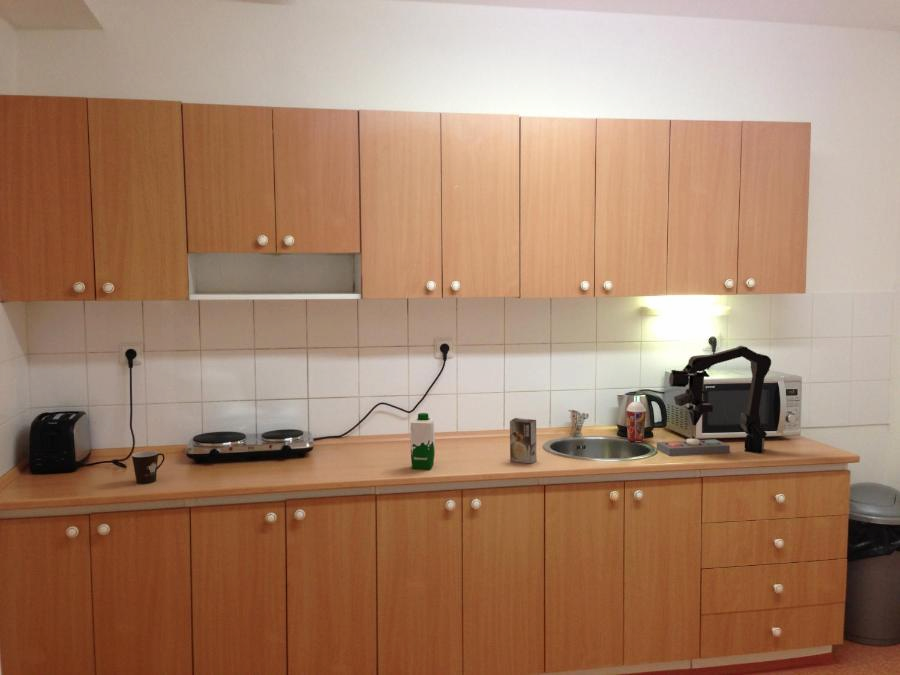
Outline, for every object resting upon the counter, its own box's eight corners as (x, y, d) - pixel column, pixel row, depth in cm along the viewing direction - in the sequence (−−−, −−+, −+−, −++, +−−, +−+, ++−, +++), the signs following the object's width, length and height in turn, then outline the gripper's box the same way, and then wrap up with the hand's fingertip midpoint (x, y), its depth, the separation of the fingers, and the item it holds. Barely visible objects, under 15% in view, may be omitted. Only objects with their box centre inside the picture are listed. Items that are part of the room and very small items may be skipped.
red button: (683, 450, 284) (683, 444, 284) (671, 450, 283) (671, 445, 283) (677, 447, 289) (677, 442, 289) (665, 447, 288) (665, 442, 288)
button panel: (729, 452, 284) (729, 445, 284) (669, 455, 280) (669, 448, 280) (715, 446, 295) (715, 439, 295) (656, 449, 291) (656, 442, 291)
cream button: (701, 446, 285) (701, 441, 285) (690, 446, 285) (690, 441, 284) (695, 443, 290) (695, 438, 290) (684, 444, 290) (684, 438, 289)
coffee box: (537, 460, 276) (537, 419, 274) (531, 463, 270) (531, 422, 269) (515, 457, 280) (515, 417, 279) (509, 461, 274) (509, 420, 273)
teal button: (719, 448, 287) (720, 443, 287) (708, 449, 286) (708, 443, 286) (713, 445, 292) (713, 440, 292) (702, 446, 291) (702, 440, 291)
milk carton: (436, 464, 270) (435, 413, 269) (432, 470, 261) (431, 417, 260) (413, 463, 272) (413, 412, 270) (409, 470, 263) (408, 417, 261)
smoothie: (646, 443, 301) (647, 397, 300) (626, 442, 303) (627, 396, 301) (644, 438, 310) (645, 393, 308) (624, 438, 311) (625, 393, 309)
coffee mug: (136, 486, 245) (134, 458, 244) (130, 480, 252) (129, 453, 251) (171, 480, 252) (169, 453, 251) (164, 475, 259) (163, 448, 258)
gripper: (666, 383, 294) (665, 420, 295) (688, 391, 275) (686, 430, 277) (691, 383, 295) (690, 420, 297) (715, 391, 277) (713, 430, 278)
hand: (694, 425), depth 287 cm, fingers closed
